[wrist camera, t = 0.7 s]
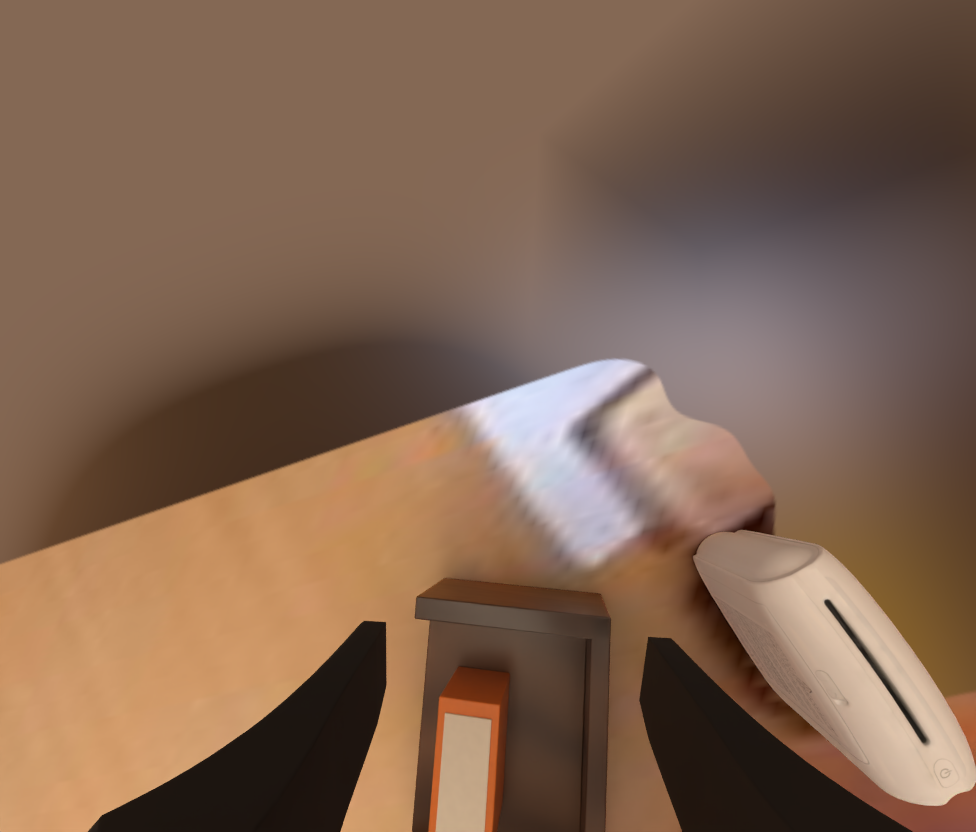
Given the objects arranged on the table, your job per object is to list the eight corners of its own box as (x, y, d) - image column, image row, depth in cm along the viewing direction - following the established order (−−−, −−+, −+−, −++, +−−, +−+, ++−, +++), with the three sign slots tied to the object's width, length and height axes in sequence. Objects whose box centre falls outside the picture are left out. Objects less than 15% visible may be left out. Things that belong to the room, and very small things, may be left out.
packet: (502, 803, 27) (490, 865, 23) (448, 794, 28) (425, 852, 23) (510, 672, 28) (500, 706, 24) (457, 665, 29) (438, 697, 24)
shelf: (593, 852, 29) (602, 952, 22) (424, 821, 30) (388, 905, 24) (601, 593, 31) (611, 617, 25) (444, 577, 33) (416, 596, 26)
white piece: (841, 672, 28) (1048, 800, 16) (777, 706, 29) (935, 858, 16) (737, 518, 31) (852, 530, 19) (679, 551, 31) (754, 584, 19)
